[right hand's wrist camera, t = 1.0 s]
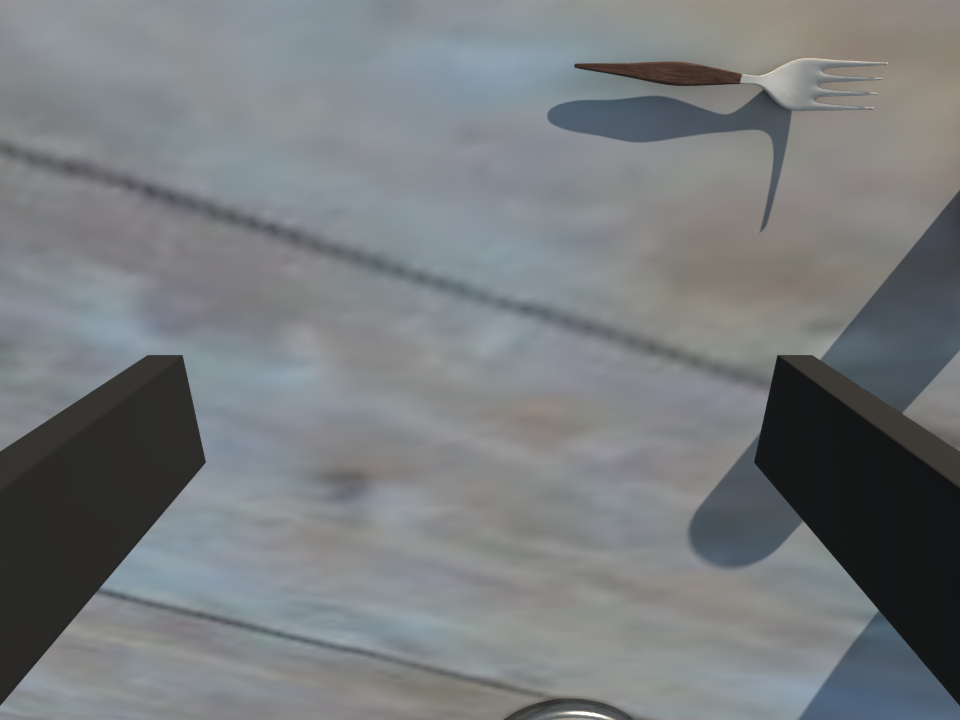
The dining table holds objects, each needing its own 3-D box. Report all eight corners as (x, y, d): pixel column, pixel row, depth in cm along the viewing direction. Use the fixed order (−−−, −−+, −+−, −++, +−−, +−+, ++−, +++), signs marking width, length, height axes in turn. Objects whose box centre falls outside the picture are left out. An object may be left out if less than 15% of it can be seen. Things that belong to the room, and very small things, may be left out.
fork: (576, 39, 30) (582, 32, 28) (864, 63, 30) (890, 58, 28) (569, 92, 31) (575, 89, 29) (849, 115, 31) (873, 113, 29)
